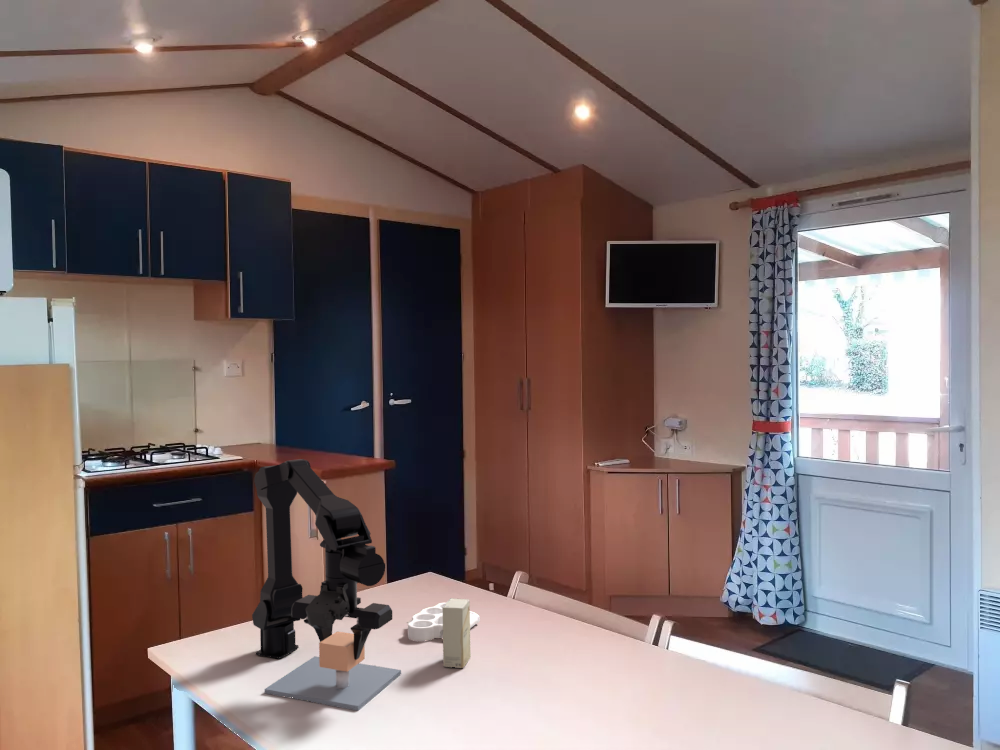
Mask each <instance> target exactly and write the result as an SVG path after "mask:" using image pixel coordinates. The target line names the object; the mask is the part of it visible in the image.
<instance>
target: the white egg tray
mask: <svg viewBox="0 0 1000 750" xmlns="http://www.w3.org/2000/svg"><path fill="white" fill-rule="evenodd" d="M446 603H447V601H446V602H439V603H437V604H436V605H434V606H430V607H426V608H423V609H421V610H420V612H418V613H416V614H413V615H412V617H411V620H409V621H407V622H406V624H407V638H408V639H409V640H410V639H411V640H410V641H412V640H414V641H413V642H418V641H424V642H426V641H425V640H430V641H432V640H431V639H433V638H443V606H444V605H445V604H446ZM480 622H481V618H480V615H479V614H477V613H476V612H474V611H471V610H470V629H471V628H473V627H474V626H475V625H476V624H479V623H480ZM433 640H434V639H433Z"/></svg>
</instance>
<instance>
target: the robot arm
mask: <svg viewBox="0 0 1000 750" xmlns="http://www.w3.org/2000/svg"><path fill="white" fill-rule="evenodd" d="M253 478H254V480H253V481H254V485H255V488H256V495H257V498H258V499H259V501H260V502H261V503H262V505H263V507H264V508H265V524H266V525H265V526H266V550H267V552H266V553H267V578H266V580H265V582H264V584H263V586H262V587H261V589H260V595H259V603H258V605H257V606H256V608H255V609H254V611H253V613H252V614H251V618H252V624H253V626H255V627H256V628H258V629H260V630H259V631H260V632H259V633H260V649H259V650H257V651H256V652H255V655H256V656H260V657H261V656H262V657H265V658H266V657H268V658H273V659H283V658H285V657H286V656H287V655H289V654H291V653H292V652H294V651H296V650H297V649H299V646H300V645H299V644H296V630H295V629H294V627H295V624H294V622H298V621H301V620H303V622H304V624H307V625H309V626H311V627H312V628H313V629H314V631H315V633H316V634H317V637H318V640H319V643H320V642H321V641H323V640H324V639H326V638H328V637H329V636H331V635H332V634H333V625H334V624H335V622H336V620H338V621H343V619H344V618H350V619H356V624H354V625H353V626H351V627H350V630H351V632H352V634H354V659H355V660H357V659H358V658H359V657H360V654H361V652H362V649H363V647H364V644H366V641H367V640H368V638H369V637H368V636H369V635H370V633H371V631H372V630H378V629H380V628H383V626H385V625H387V624H388V623H389V622H391V621H392V620H393V609H392V608H391V606H390V605H389V604H385V603H383V604H382V603H376V602H373V603H371V604H369V605H368V606H366V607H359V606H358V605H360V604H361V603H362V602H361V601H362V600H361V599H362V598H361V597H358V584H361V585H363V586H367V587H373V586H375V585H377V584H379V582H380V581H381V580H382V579H383V577H384V575H385V573H386V563H385V561H384V558H383V557H382V556H381V555H380V554H379V553H377V551H376V549H377V548H376V546H373V545H369V544H372V543H373V541H372V536H371V532H370V530H369V528H368V526H367V524H366V522H365V519H364V516H363V514H362V512H361V511H360V509H359V508H358V507H357V506H356V505H355V504H353V503H352V502H351V501H350V500H348V499H347V498H346V499H345V498H342V497H339V496H337V495H336V494H334V492H333V491H332V490H331V489H330V487H328V486H327V484H325V482H324V481H323V480H322V478H321V477H320V476H318V474H317V473H316V472H315V471H314V470H313V468H312V467H311V464H310V461H309V460H307V459H304V458H302V459H301V458H299V459H292V460H286V461H284V462H281V463H279V464H277V465H276V464H275V465H269V466H266V465H265V466H261V467H259V470H258V471H257V472H256V473H255V474H254V477H253ZM297 494H298V495H299V496H300V497H301V498H302V500H303V501H304V502H305V503H306V505H307V506H308V507H309V508H310V509H311V510H312V511H313V513H314V515H315V520H314V521H315V522H314V524H315V527H316V529H317V530H318V531H319V532H318V533H320V535H321V537H322V539H323V540H322V541H321V542H320V543H319V546H320V547H321V548H324V551H325V552H324V554H325V555H324V557H325V559H324V561H325V564H324V566H325V567H324V568H325V571H324V572H325V574H324V575H325V580H323V581H322V582H321V585H320V591H319V594H318V595H314V594H308V595H305V596H304V597H303V590H304V589H303V586H302V584H301V583H298V582H297V580H296V579H295V577H294V575H293V556H292V533H291V532H292V530H291V529H292V527H291V526H292V525H291V506H292V504H293V502H294V500H295V498H296V496H297Z"/></svg>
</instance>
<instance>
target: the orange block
mask: <svg viewBox="0 0 1000 750" xmlns="http://www.w3.org/2000/svg"><path fill="white" fill-rule="evenodd" d="M365 644H366V643H365ZM365 644H364V647H363V649H362V652H361V654H360V657H359V658H358V659H357V660H355V659H354V633H350V632H343V631H336V632H334V633H332V635H331V636H329V637H328V638H326V639H324V640H323V641H321V642H320V641H319V642H318V645H319V647H318V649H319V651H318V653H319V656H318V657H319V667H323V668H329V669H335V670H341V671H347V672H348V671H349V670H350V669H352V668H353V667H354V666H356V665H357V664H358V663H360V664H361V662H362V661H364V660H365V656H366V655H365V654H366V653H365V652H366V650H365Z"/></svg>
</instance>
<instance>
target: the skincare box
mask: <svg viewBox="0 0 1000 750" xmlns="http://www.w3.org/2000/svg"><path fill="white" fill-rule="evenodd" d="M446 602H447V603H446ZM446 602H445V603H446V604H445V605H444V606H443V639H442V651H443V653H442V654H443V655H442V661H443V667H444V668H452V667H455V669H464V668H465V666H466V665H467V663H468V662H469V660H470V659H471V654H472V653H471V628H470V611H471V610H470V607H471V605H470V603H471V602H470V599H469V598H449V599H448V600H447V601H446Z"/></svg>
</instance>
